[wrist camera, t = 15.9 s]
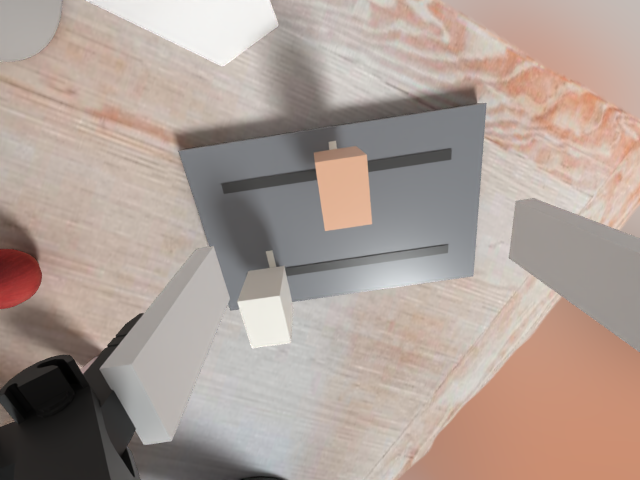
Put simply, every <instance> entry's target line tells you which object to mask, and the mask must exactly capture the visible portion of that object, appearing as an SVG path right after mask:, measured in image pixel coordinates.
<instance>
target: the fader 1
mask: <svg viewBox="0 0 640 480" xmlns="http://www.w3.org/2000/svg"><path fill="white" fill-rule="evenodd" d="M237 303H238V306H239V309H240V312H241V316H242V319H243V322H244V325H245V328H246V332H247V335H248V338H249V341H250V345H251V348H259V347H266V346H273V345H280V344H288V343H291V337H292V323H293V309H294V308H293V303H292V299H291V294H290V289H289V285H288V280H287V276H286V271H285V267H284V266H280V267H273V268H266V269H259V270H252V271H248V274H247V276H246V279H245V282H244V285H243V287H242V290H241V293H240V296H239V298H238V301H237Z"/></svg>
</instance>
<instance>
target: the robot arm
mask: <svg viewBox="0 0 640 480" xmlns="http://www.w3.org/2000/svg"><path fill="white" fill-rule="evenodd" d="M509 259H511V260H512V261H514V262H515V263H516V264H518V265H519V266H521V267H522V268H523V269H525V270H526V271H528V272H529V273H530V274H532V275H533V276H534V277H536V278H537V279H539V280H540V281H541V282H543V283H544V284H546V285H547V286H548V287H550V288H551V289H553V290H554V291H555V292H557V293H558V294H560V295H561V296H562V297H564V298H565V299H566V300H568V301H569V302H571V303H572V304H573V305H575V306H576V307H578V308H579V309H581V310H582V311H583V312H585V313H586V314H587V315H589V316H590V317H591V318H593V319H594V320H596V321H597V322H598V323H600V324H601V325H603V326H604V327H605V328H607V329H608V330H610V331H611V332H612V333H614V334H615V335H616V336H618V337H619V338H621V339H622V340H623V341H625V342H626V343H628V344H629V345H630V346H632V347H633V348H635V349H636V350H637V351H639V352H640V238H638V237H635V236H632V235H630V234H627V233H624V232H622V231H619V230H616V229H614V228H611V227H608V226H606V225H603V224H601V223H598V222H595V221H593V220H590V219H587V218H585V217H582V216H579V215H577V214H574V213H571V212H569V211H566V210H563V209H561V208H558V207H556V206H553V205H550V204H548V203H545V202H542V201H540V200H537V199H534V198H532V199H525V200H519V201H516V203H515V211H514V219H513V228H512V236H511V244H510V253H509ZM229 300H230V297H229V294H228V291H227V287H226V284H225V281H224V278H223V275H222V272H221V268H220V265H219V262H218V259H217V256H216V252H215V249H214V246H211V247H205V248H198V249H196V250H195V251H194V252H193V253H192V255H191V256H190V257H189V258H188V260H187V261H186V262H185V263H184V265H183V266H182V267H181V268H180V270H179V271H178V272H177V273H176V274H175V276H174V277H173V278H172V279H171V281H170V282H169V283H168V284H167V286H166V287H165V288H164V289H163V291H162V292H161V293H160V294H159V296H158V297H157V298H156V299H155V300H154V302H153V303H152V304H151V305H150V307H149V308H148V309H147V310H146V312H145V313H141V314H139V315H137V316H136V317H135V318H133V319H132V320H131V321H129V322H128V323H127V324H125V326H124V327H123V328H122V329H121V330H120V331H119V333H118V334H117V335H116V338H113V340H112V341H111V342H110V343H109V344H108V345H107V346H108V347H107V348H105V349H104V350H103V351H102V352H101V354H100V355H99V356H98V357H97V358H96V359H95V361H94V362H93V363H92V364H91V365H90V367H89V368H88V369H87V370H86V371H85V372H84V374H82V372H81V370H80V369H79V367H78V366H77V364H76V362H75V361H74V359H73V358H72V357H71V356H70V355H59V356H54V357H50V358H47V359H45V360H42V361H40V362H37V363H36V364H34V365H32V366H30V367H28V368H26V369H25V370H23V371H21V372H20V373H19V374H17V375H16V376H15V377H13V378H12V379H10V380H9V381H8V382H7V383H6V384H5V385H4V386H3V387H2V388H1V390H0V403H1V404H2V406H3V407H4V408H5V409H6V410H7V412H8V413H9V414H10V415H11V417H12V418H13V419H14V420H15V422H12V423H10V424H7V425H4V426H2V427H0V480H140V477H139V474H138V471H137V467H136V464H135V461H134V458H133V455H132V452H131V451H130V449H129V448H128V446H127V445H128V443H129V441H130V440H131V438H132V436H133V434H134V432H135V431H136V433H137V434H138V436H139V438H140V439H141V441H142V443H143V444H144V445H148V444H155V443H162V442H170V441H172V440H173V437H174V435H175V432H176V430H177V427H178V425H179V423H180V420H181V418H182V415H183V413H184V410H185V408H186V405H187V403H188V401H189V398H190V396H191V393H192V391H193V388H194V386H195V383H196V381H197V379H198V376H199V374H200V371H201V369H202V366H203V364H204V361H205V359H206V357H207V354H208V352H209V349H210V347H211V344H212V342H213V339H214V337H215V335H216V332H217V330H218V327H219V325H220V322H221V320H222V317H223V315H224V313H225V310H226V308H227V305H228V303H229ZM243 480H278V479H273V478H264V477H258V478H248V479H243Z"/></svg>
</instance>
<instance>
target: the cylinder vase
mask: <svg viewBox="0 0 640 480" xmlns="http://www.w3.org/2000/svg"><path fill="white" fill-rule="evenodd" d="M61 13H62V0H0V62H15V61H20V60H24V59H27V58H30V57H32V56H34V55H36V54H37V53H39V52H40V51H41V50H43V49H44V48H45V47H46V46H47V45H48V44H49V42H50V41H51V40H52V38H53V37H54V35H55V33H56V31H57V28H58V25H59V22H60V18H61Z"/></svg>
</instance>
